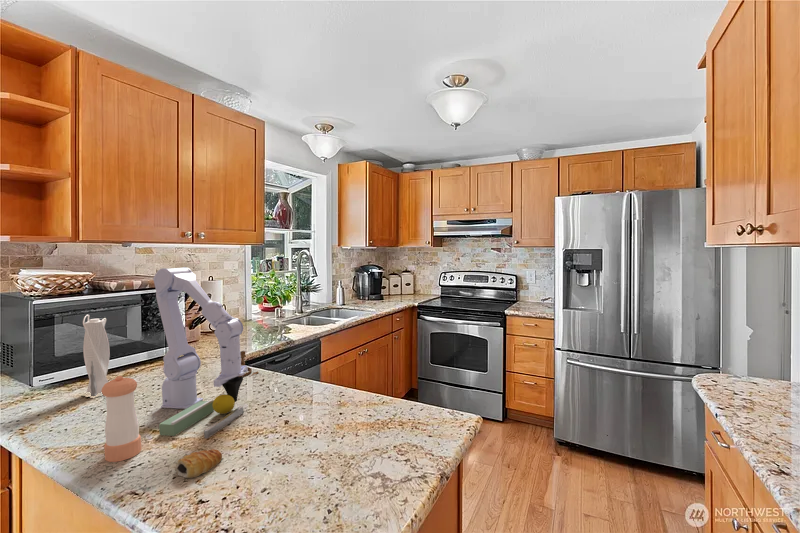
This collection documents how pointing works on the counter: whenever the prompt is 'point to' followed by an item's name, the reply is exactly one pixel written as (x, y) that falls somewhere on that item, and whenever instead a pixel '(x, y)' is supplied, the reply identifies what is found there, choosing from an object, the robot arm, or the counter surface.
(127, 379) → the salt shaker
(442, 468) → the counter surface
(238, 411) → the rail
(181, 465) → the pastry
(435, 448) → the counter surface
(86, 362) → the beige tall twisted piece
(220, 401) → the lemon
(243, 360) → the place setting
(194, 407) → the pale green rectangular bar
